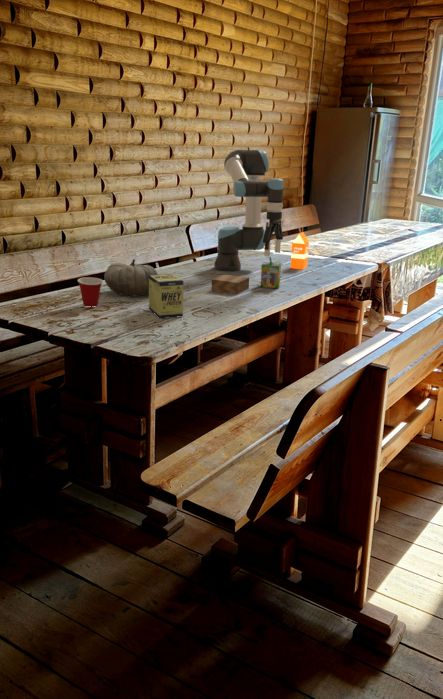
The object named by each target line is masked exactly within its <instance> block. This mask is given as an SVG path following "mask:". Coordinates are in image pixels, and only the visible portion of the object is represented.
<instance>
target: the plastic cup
mask: <svg viewBox="0 0 443 699" xmlns="http://www.w3.org/2000/svg"><path fill="white" fill-rule="evenodd" d="M77 282H78V285H79V289H80V295H81V299H82V303H83V307H84V306H91V307H92V306H97V305H99V300H100V293H101V288H102V284H103V282H104V280H103V279H102V278H98V277H90V276H87V277H85V276H84V277H80V278H78V279H77ZM97 307H98V306H97Z"/></svg>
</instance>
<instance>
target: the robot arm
mask: <svg viewBox="0 0 443 699" xmlns="http://www.w3.org/2000/svg"><path fill="white" fill-rule="evenodd" d="M223 162H224V163H223V164H224V165H223V167H224V170H225V171H226V173H228V174H229V175H230V178H231V180H232V181H233V186H232V190H233V195H234V196H235V197H239V198H245V218H244V219H245V221H244V223H243V224H242V225H241V226H242V228H240V227H239V226H231V225H229V226H223V227H221V228H220V229H219V230H218V233H217V255H216V258H215V260H214V265H213V268H214V270H217V271H223V272H235V271H240V270H242V265H241V261H240V258H239V257H240V256H239V251H261V250H263V249H264V251H263V252H264V253H263V254H264V255H263V256H264V257H269V258H270V257H271V239H272V236H273V233H274V236H275V243H274V253H278V254H280V253H281V246H282V245H281V244H282V240H283V239H284V235H283V227H282V218H283V212H282V211H283V207H284V205H283V199H284V180H283V178H269V179H268V180H267V181H263V179H264V177H265V176H266V173H268V172H269V167H270V166H269V165H270V164H269V157H268V154H267V152H266V151H265V150H259V149H236V150H233V151H231V152H229V154H227V155H226V157H225V159H224V161H223ZM262 198H267V202H266V220H269V221H267V222H266V224H265V228H264V225H263V224H262V223H261V222H262V221H261V220H262V218H261V217H262Z"/></svg>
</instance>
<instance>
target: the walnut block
mask: <svg viewBox="0 0 443 699" xmlns="http://www.w3.org/2000/svg"><path fill="white" fill-rule="evenodd" d="M249 288H250V277H249V276H240V275H233V274H226V273H225V274H224V273H223V274H222V275H218V276H216V277H214V278H212V279H211V290H212V291H211V292H216V291H219V292H218V293H224V292H225V294H233V295H239V294H241V293H243V292H245V291H247V290H249Z"/></svg>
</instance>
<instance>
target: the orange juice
mask: <svg viewBox="0 0 443 699" xmlns="http://www.w3.org/2000/svg"><path fill="white" fill-rule="evenodd" d="M309 244H310V241H309V240H308V238H307V236H306V235H305V233H304V231H302V232H299V234H298V235H297V236H296V237H295V239H294V240H293V242H292V243H291V256H290V269H295V270H296V269H297V270H305V269H306V268H307V267H308V261H309V260H308V259H309Z"/></svg>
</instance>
